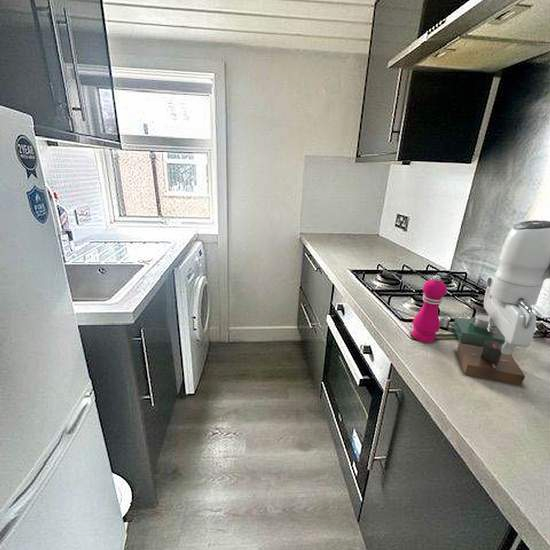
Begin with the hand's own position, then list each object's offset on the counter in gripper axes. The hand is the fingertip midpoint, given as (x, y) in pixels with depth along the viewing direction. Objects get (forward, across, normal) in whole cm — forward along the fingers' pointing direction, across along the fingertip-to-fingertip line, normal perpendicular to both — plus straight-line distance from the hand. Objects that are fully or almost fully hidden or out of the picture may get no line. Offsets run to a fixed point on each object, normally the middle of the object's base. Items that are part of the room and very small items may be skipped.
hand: (497, 342), depth 75 cm
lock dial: (+5, 0, +1) cm, 5 cm away
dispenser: (+8, +16, -2) cm, 18 cm away
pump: (+3, +16, -2) cm, 17 cm away
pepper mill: (+8, +10, +14) cm, 20 cm away
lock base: (+8, 0, +1) cm, 8 cm away
